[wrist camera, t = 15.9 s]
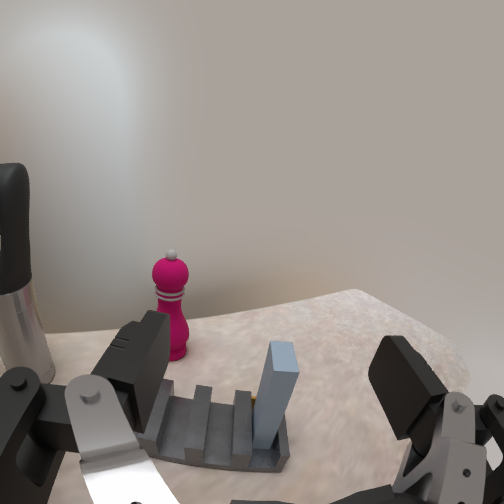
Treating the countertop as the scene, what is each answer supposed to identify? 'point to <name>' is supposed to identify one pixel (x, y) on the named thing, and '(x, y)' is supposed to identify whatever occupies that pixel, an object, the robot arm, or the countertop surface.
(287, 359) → the panel
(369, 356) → the countertop surface
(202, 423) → the rack
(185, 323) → the pepper mill
